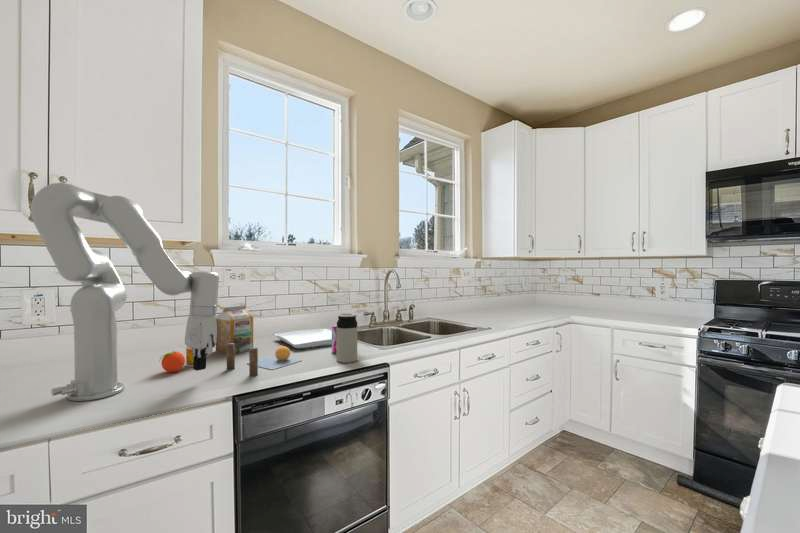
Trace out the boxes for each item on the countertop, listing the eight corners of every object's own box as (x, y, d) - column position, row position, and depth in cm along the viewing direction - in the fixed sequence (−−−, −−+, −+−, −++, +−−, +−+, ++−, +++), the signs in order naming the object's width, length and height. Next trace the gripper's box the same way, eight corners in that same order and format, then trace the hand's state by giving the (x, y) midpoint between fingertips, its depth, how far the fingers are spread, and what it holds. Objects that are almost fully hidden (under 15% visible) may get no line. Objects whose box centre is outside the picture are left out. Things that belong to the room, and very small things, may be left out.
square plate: (294, 352, 155) (294, 343, 155) (273, 341, 177) (273, 333, 177) (350, 344, 171) (350, 336, 171) (325, 334, 193) (325, 327, 193)
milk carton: (230, 355, 149) (230, 308, 148) (215, 351, 155) (215, 306, 154) (253, 349, 158) (253, 305, 157) (238, 346, 163) (238, 304, 163)
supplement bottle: (184, 364, 135) (184, 338, 134) (200, 362, 138) (200, 336, 138) (188, 368, 131) (188, 340, 131) (204, 365, 135) (204, 338, 134)
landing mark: (272, 370, 129) (272, 369, 129) (246, 364, 136) (246, 363, 136) (301, 360, 141) (301, 360, 141) (277, 355, 148) (277, 355, 148)
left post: (229, 370, 128) (229, 344, 128) (225, 369, 129) (225, 344, 129) (236, 368, 130) (236, 343, 130) (231, 367, 132) (231, 342, 131)
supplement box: (331, 353, 152) (331, 326, 152) (337, 350, 158) (338, 323, 158) (343, 354, 150) (343, 327, 150) (350, 351, 156) (350, 324, 156)
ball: (286, 364, 139) (279, 355, 136) (277, 362, 142) (269, 353, 139) (295, 353, 143) (288, 344, 140) (285, 351, 146) (279, 342, 143)
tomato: (163, 377, 121) (163, 355, 120) (154, 373, 125) (154, 352, 124) (188, 371, 127) (188, 350, 127) (179, 367, 131) (179, 347, 131)
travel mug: (339, 364, 137) (339, 316, 136) (334, 358, 144) (334, 313, 144) (359, 362, 140) (359, 315, 139) (354, 357, 147) (354, 312, 147)
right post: (252, 376, 121) (252, 349, 121) (247, 375, 123) (247, 348, 123) (259, 374, 124) (259, 348, 123) (254, 373, 125) (254, 347, 125)
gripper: (178, 309, 116) (174, 367, 115) (205, 314, 108) (201, 377, 108) (201, 307, 122) (197, 362, 122) (228, 312, 114) (224, 371, 114)
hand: (199, 369), depth 115 cm, fingers closed
